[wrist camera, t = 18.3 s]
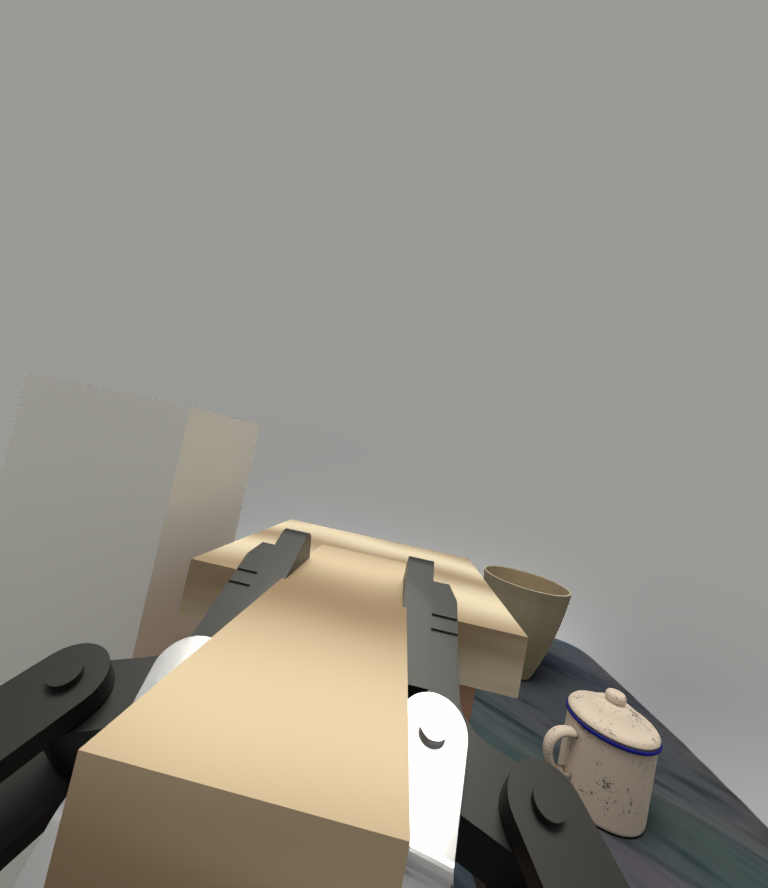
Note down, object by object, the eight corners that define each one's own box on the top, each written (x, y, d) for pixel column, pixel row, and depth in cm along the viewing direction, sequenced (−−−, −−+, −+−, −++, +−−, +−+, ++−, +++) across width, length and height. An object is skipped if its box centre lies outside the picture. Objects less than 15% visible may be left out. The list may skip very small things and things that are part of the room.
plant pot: (563, 706, 58) (581, 603, 59) (466, 673, 62) (485, 577, 63) (546, 662, 73) (562, 579, 73) (469, 637, 77) (484, 559, 77)
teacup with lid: (604, 768, 46) (620, 673, 47) (671, 845, 38) (690, 726, 38) (514, 760, 45) (532, 661, 45) (562, 838, 36) (584, 713, 36)
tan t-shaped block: (951, 1554, 3) (999, 1004, 3) (-480, 1020, 3) (-349, 631, 4) (462, 589, 24) (472, 535, 25) (284, 548, 25) (296, 497, 26)
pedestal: (8, 1231, 14) (199, 407, 16) (-221, 1145, 15) (-18, 362, 16) (171, 917, 24) (279, 430, 26) (29, 873, 25) (142, 401, 26)
